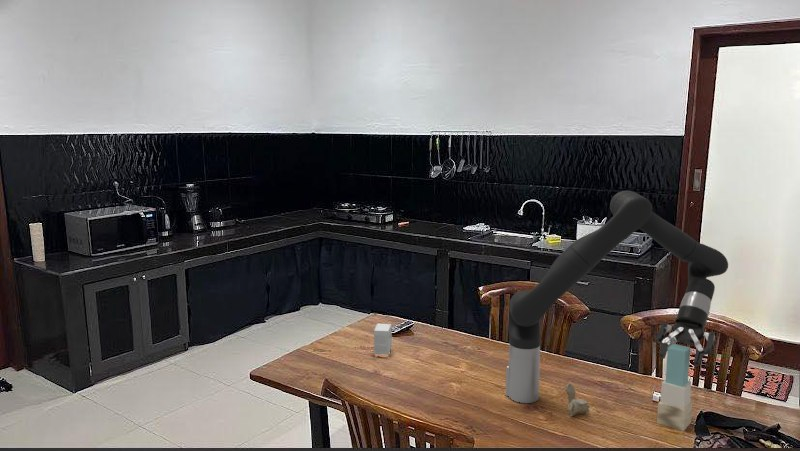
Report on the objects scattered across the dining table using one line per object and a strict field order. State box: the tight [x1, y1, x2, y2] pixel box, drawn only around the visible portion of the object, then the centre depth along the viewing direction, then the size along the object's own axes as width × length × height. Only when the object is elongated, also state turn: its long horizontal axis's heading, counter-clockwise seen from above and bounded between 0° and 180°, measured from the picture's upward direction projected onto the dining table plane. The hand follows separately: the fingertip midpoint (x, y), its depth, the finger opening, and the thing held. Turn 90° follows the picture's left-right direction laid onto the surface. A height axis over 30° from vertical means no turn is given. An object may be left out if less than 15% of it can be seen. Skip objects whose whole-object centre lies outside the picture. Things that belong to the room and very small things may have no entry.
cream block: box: [660, 378, 692, 410], centre depth 158 cm, size 6×6×6 cm
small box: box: [373, 323, 393, 354], centre depth 212 cm, size 8×6×10 cm
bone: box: [565, 382, 590, 417], centre depth 165 cm, size 9×6×10 cm
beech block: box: [656, 400, 693, 432], centre depth 159 cm, size 7×7×6 cm
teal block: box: [665, 343, 691, 387], centre depth 157 cm, size 4×4×10 cm
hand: (678, 361), depth 156 cm, fingers open, 8 cm apart
